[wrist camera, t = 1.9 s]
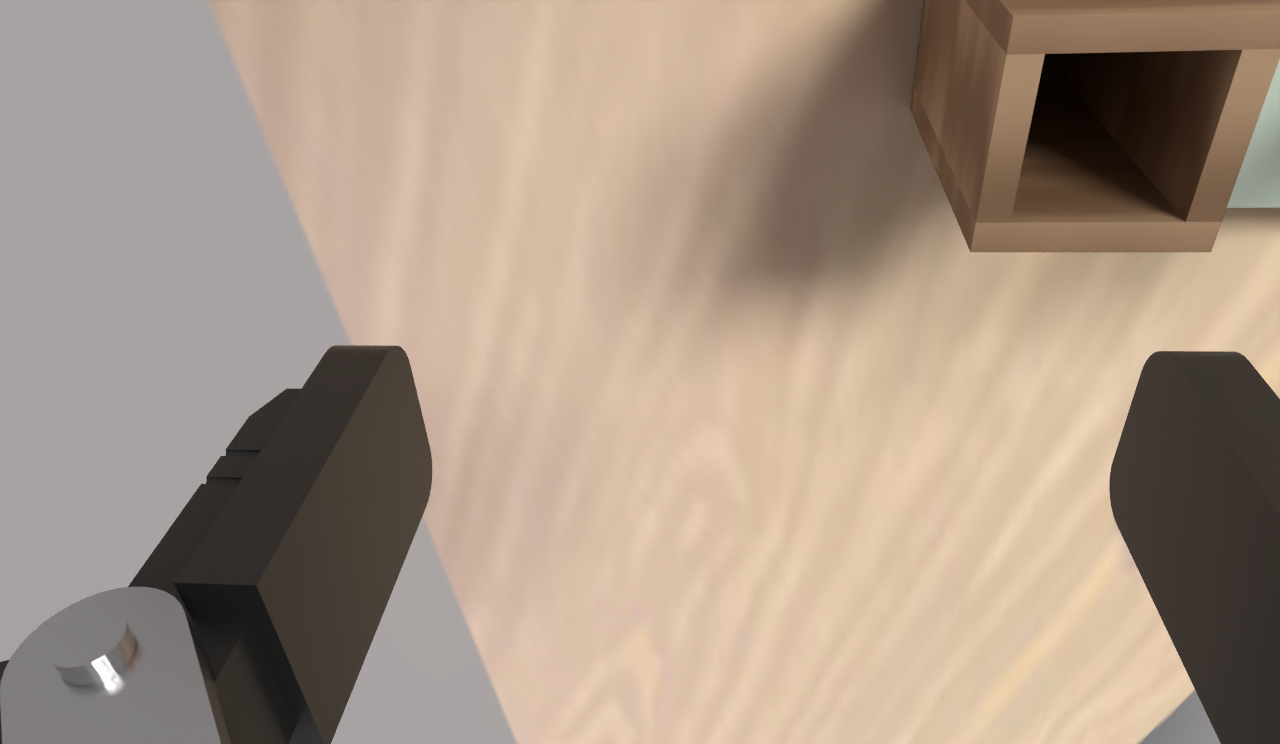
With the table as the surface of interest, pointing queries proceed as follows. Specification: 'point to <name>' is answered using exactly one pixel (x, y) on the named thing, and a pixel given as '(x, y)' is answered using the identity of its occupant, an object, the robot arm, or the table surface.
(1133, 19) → the brown wooden tall box
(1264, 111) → the pale green square base
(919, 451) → the table surface
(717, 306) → the table surface
